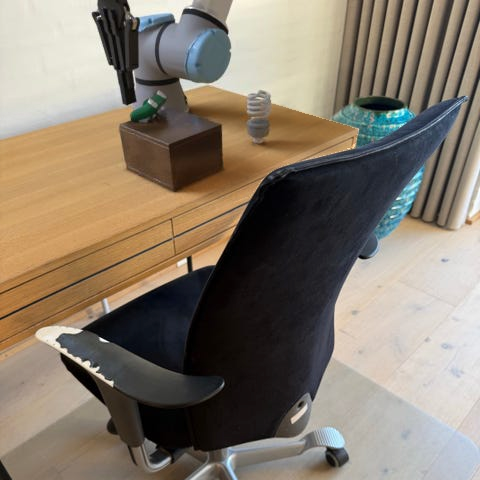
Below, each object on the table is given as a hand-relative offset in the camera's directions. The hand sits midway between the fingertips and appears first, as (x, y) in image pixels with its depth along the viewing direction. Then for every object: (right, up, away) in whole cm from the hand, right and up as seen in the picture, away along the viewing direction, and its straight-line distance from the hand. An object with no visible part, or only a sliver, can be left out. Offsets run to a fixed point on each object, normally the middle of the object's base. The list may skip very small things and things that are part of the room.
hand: (129, 102), depth 104 cm
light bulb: (+29, -5, +10) cm, 31 cm away
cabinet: (+10, -15, 0) cm, 18 cm away
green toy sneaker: (+5, -4, -3) cm, 7 cm away
